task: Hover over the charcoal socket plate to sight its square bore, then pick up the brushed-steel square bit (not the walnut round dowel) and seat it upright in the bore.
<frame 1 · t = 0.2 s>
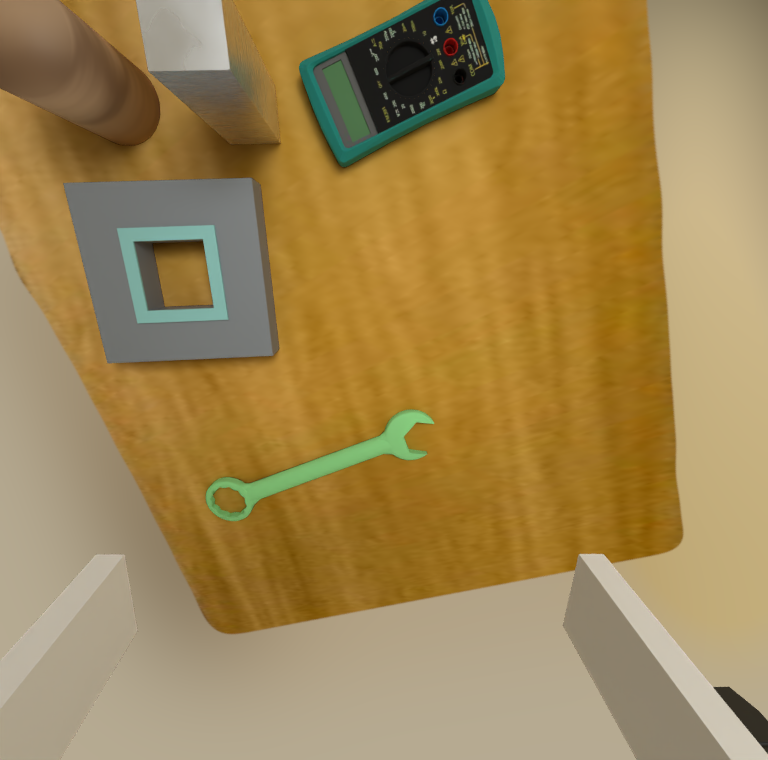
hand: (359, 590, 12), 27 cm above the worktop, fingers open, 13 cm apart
square bit: (252, 115, 32), on the worktop
round dowel: (121, 103, 31), on the worktop
socket plate: (189, 274, 35), on the worktop
digital multimeter: (400, 86, 32), on the worktop
wrench: (321, 462, 42), on the worktop
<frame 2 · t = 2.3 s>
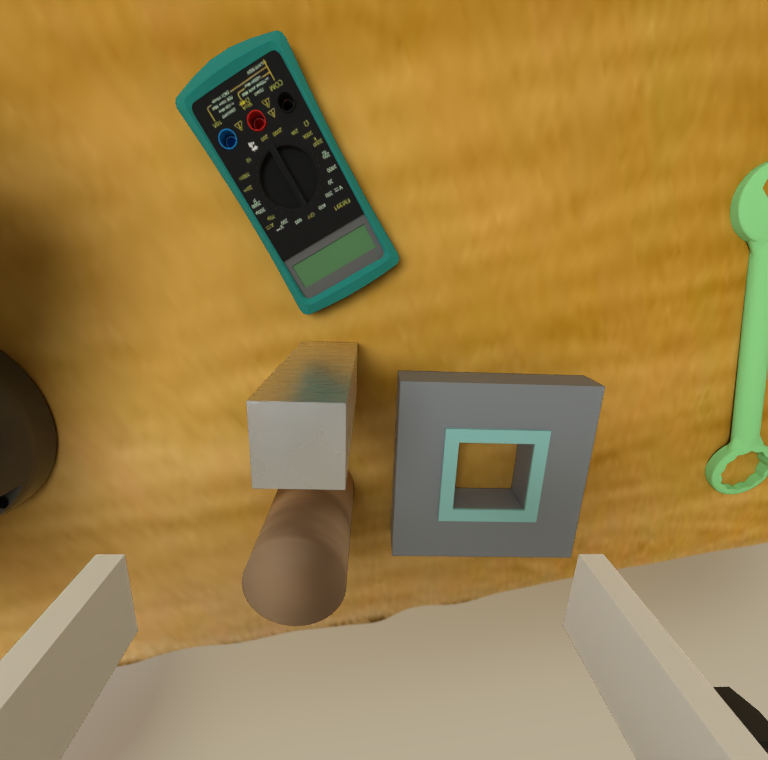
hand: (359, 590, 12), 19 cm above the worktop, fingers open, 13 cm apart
square bit: (330, 368, 29), on the worktop
round dowel: (317, 488, 32), on the worktop
socket plate: (481, 458, 31), on the worktop
digital multimeter: (300, 192, 26), on the worktop
wrench: (742, 343, 30), on the worktop
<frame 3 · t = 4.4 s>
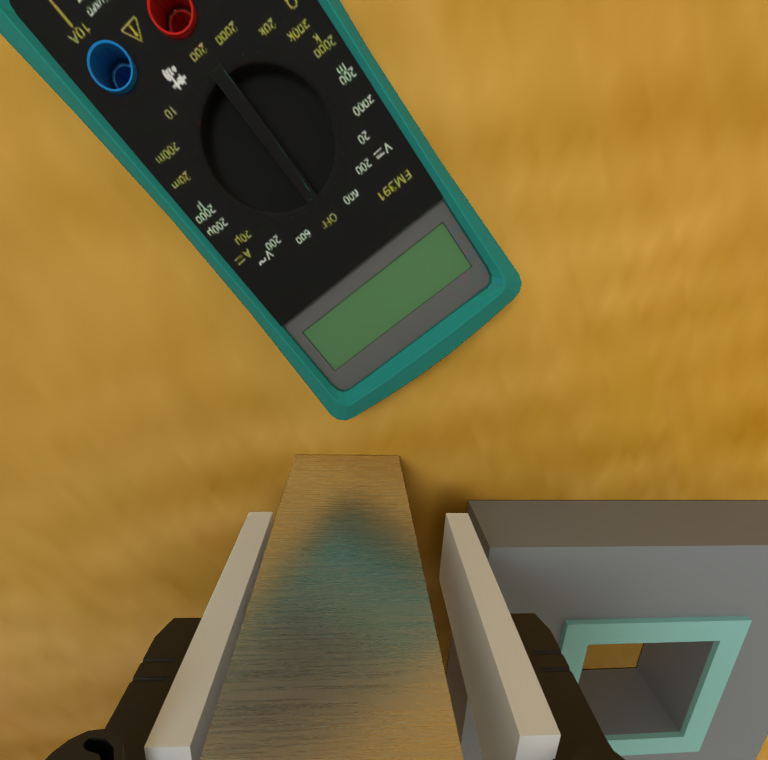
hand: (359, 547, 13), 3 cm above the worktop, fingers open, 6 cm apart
square bit: (346, 499, 16), on the worktop
socket plate: (595, 627, 19), on the worktop
digital multimeter: (294, 176, 13), on the worktop
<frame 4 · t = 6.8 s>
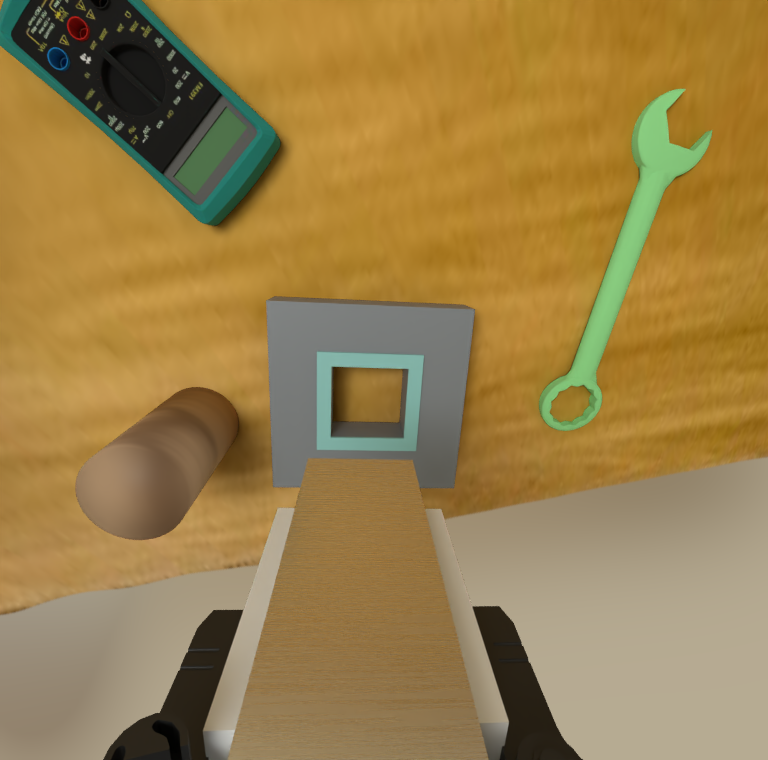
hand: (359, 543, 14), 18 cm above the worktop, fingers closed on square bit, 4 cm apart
square bit: (359, 504, 16), point 16 cm above the worktop, touching gripper
round dowel: (200, 422, 31), on the worktop
socket plate: (367, 390, 31), on the worktop
digital multimeter: (161, 104, 25), on the worktop
wrench: (608, 279, 31), on the worktop
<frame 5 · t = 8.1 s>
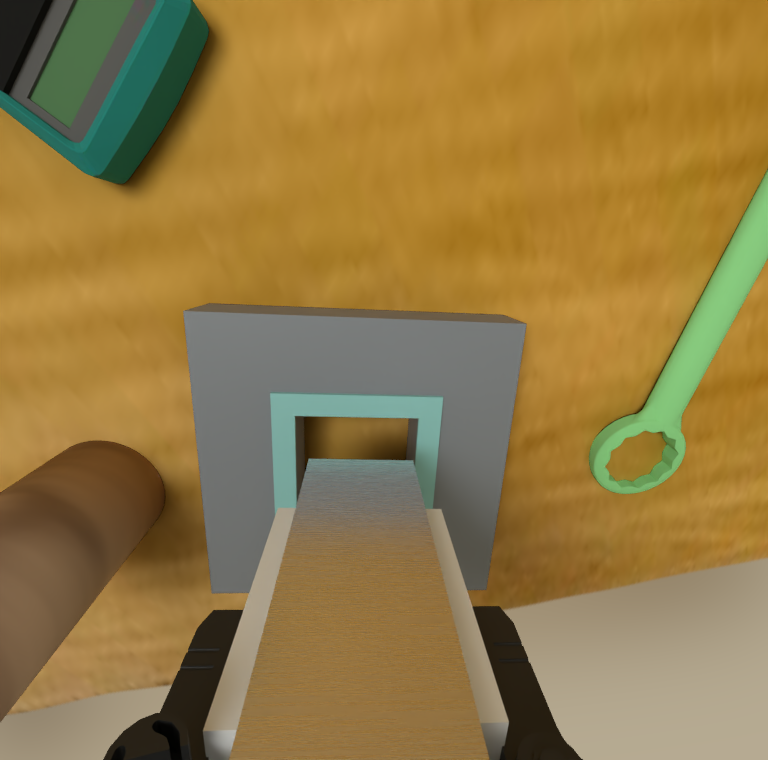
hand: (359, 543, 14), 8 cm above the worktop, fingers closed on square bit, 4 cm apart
square bit: (359, 504, 16), point 5 cm above the worktop, touching gripper
round dowel: (107, 490, 21), on the worktop
socket plate: (356, 442, 21), on the worktop
wrench: (715, 276, 20), on the worktop
when the fingers open (4 cm above the worktop, at t = 9.1 s): square bit drops 2 cm, resting in socket plate.
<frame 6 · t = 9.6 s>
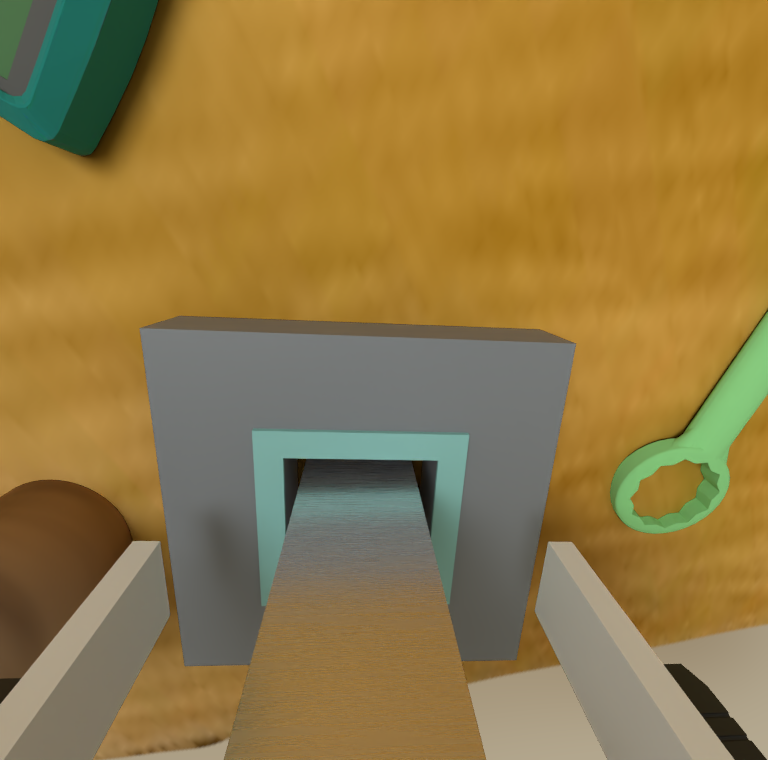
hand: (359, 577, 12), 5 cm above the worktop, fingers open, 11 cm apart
square bit: (358, 480, 17), resting in socket plate
round dowel: (63, 537, 17), on the worktop
socket plate: (359, 481, 17), on the worktop
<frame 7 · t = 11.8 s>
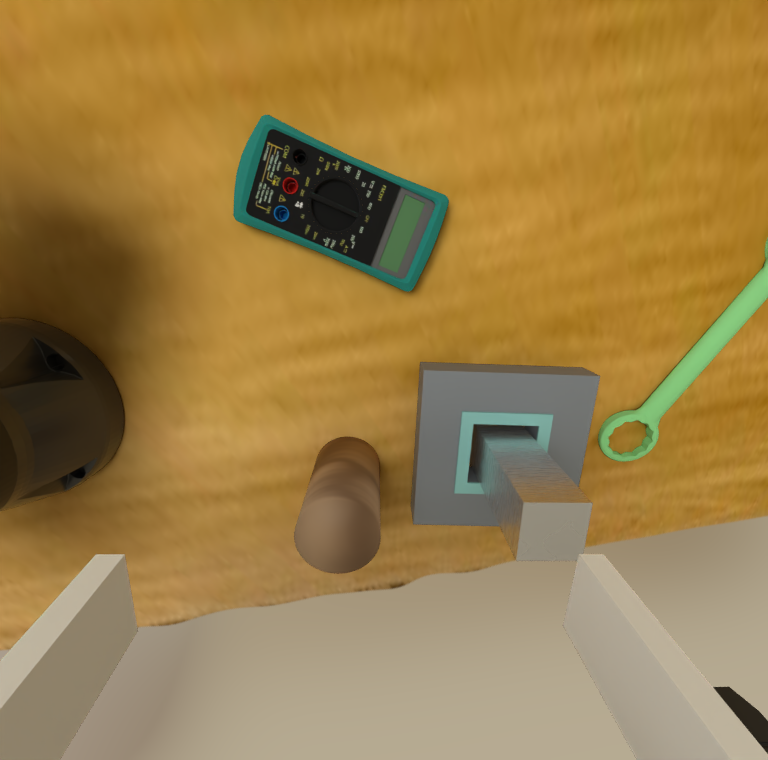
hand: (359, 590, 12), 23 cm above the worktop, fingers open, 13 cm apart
square bit: (491, 439, 36), resting in socket plate
round dowel: (347, 465, 36), on the worktop
socket plate: (492, 440, 36), on the worktop
digital multimeter: (343, 212, 31), on the worktop
wrench: (700, 343, 34), on the worktop
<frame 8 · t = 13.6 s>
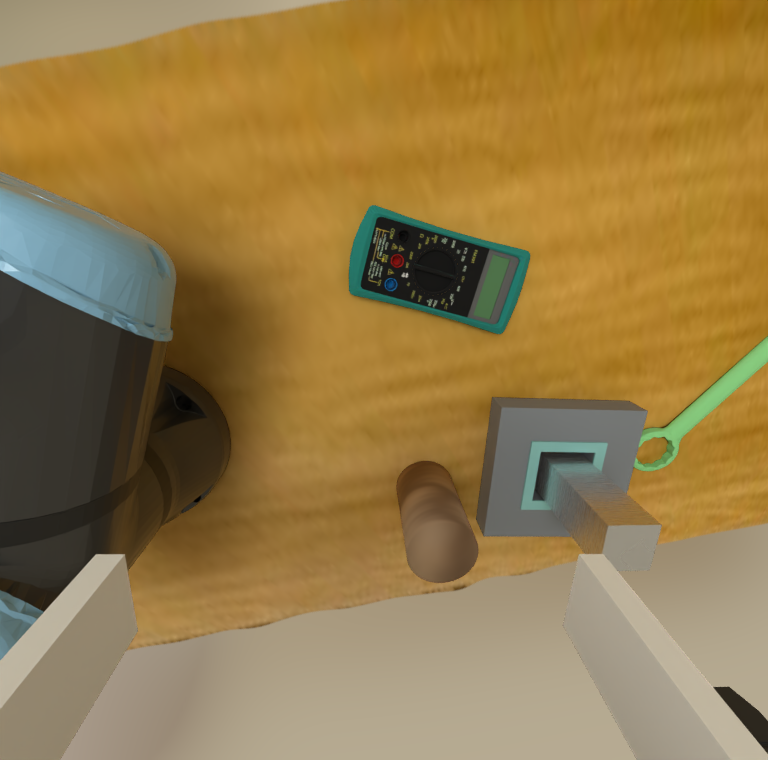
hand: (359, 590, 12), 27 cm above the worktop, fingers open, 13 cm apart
square bit: (548, 461, 41), resting in socket plate
round dowel: (424, 485, 41), on the worktop
socket plate: (549, 462, 41), on the worktop
digital multimeter: (434, 272, 36), on the worktop
wrench: (722, 378, 40), on the worktop
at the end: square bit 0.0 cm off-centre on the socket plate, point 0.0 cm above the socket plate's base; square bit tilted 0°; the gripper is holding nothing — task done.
